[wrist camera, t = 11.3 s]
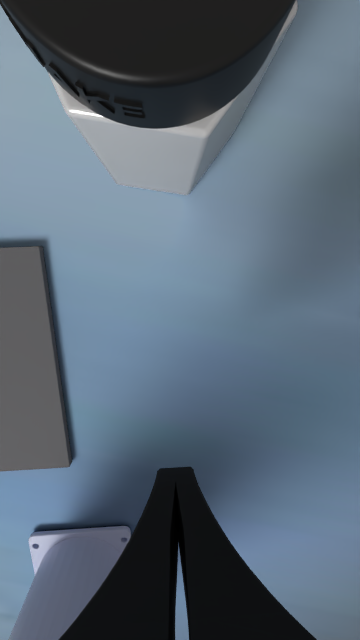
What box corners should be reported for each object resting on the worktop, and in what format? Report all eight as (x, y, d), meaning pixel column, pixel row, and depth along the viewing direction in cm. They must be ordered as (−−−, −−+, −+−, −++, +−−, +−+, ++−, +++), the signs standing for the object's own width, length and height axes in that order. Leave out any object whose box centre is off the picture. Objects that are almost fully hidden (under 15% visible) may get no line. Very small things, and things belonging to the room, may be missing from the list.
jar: (64, 71, 17) (-175, -356, 5) (194, 10, 16) (258, -599, 5) (128, 221, 19) (62, 161, 7) (246, 170, 18) (385, 16, 7)
